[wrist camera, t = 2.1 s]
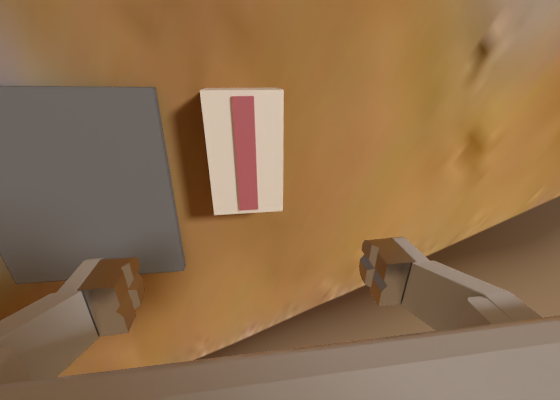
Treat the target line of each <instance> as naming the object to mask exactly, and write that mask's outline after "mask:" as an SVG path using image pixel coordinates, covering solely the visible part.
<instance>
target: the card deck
mask: <svg viewBox="0 0 560 400" xmlns="http://www.w3.org/2000/svg"><path fill="white" fill-rule="evenodd" d="M283 93H284V90H282V89H279V88H204V89H202V90H200V98H201V106H202V115H203V123H204V132H205V140H206V149H207V158H208V166H209V175H210V183H211V192H212V201H213V209H214V215H225V214H241V213H256V212H272V211H283Z"/></svg>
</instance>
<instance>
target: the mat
mask: <svg viewBox="0 0 560 400" xmlns="http://www.w3.org/2000/svg"><path fill="white" fill-rule="evenodd" d="M0 254H1V256H2V258H3V260H4V262H5V264H6V266H7V268H8V270H9V272H10V274H11V276H12V278H13V280H14V281H15V283H16V284H24V283H36V282H49V281H61V280H68V278H69V277H70V276H71V275H72V274H73V273H74V271H75V270H76V269H77V268H78V267H79V266H80V265H81V263H82V262H83V261H84V260H87V259H94V258H111V257H131V256H135V257H137V258H138V261H139V264H140V268H139V270H138V272H137V273H139V274H149V273H161V272H174V271H184V270H185V260H184V254H183V248H182V242H181V236H180V230H179V224H178V218H177V212H176V206H175V200H174V194H173V189H172V183H171V177H170V171H169V165H168V159H167V153H166V147H165V141H164V135H163V129H162V123H161V117H160V111H159V105H158V99H157V93H156V87H59V86H0Z"/></svg>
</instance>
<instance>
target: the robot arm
mask: <svg viewBox="0 0 560 400" xmlns="http://www.w3.org/2000/svg"><path fill="white" fill-rule="evenodd" d="M362 251H363V253H364V255H363V257H362V258H361V259H360V264H359V270H360V275H361V278H362V280H363V282H364V284H366V285H367V286H369V287H371V290H370V293H371V295H372V296H373V298H374V300H375V301H376V303H377V304H378V306H388V305H402V306H403V307H404V308H405V309H407V310H408V311H410V312H411V313H412V314H414V315H415V316H416V317H418V318H419V319H421V320H422V321H423V322H425V323H426V324H428V325H429V326H430V327H432V328H433V329H435V330H436V331H431V332H423V333H416V334H407V335H399V336H391V337H383V338H375V339H366V340H358V341H350V342H341V343H333V344H325V345H316V346H308V347H300V348H293V349H284V350H276V351H268V352H259V353H251V354H243V355H235V356H227V357H219V358H212V359H203V360H195V361H187V362H179V363H170V364H162V365H154V366H146V367H138V368H130V369H122V370H113V371H105V372H97V373H89V374H81V375H73V376H65V377H58V376H59V375H60V374H61V373H62V372H63V371H64V370H65V369H66V368H67V367H68V366H69V365H70V364H72V363H73V362H74V361H75V360H76V359H77V358H78V357H79V356H80V355H81V354H82V353H83V352H85V351H86V350H87V349H88V348H89V347H90V346H91V345H92V344H93V343H94V342H95V341H96V340H97V339H99V337H100V336H108V335H116V334H123V333H128V332H129V330H130V328H131V326H132V323H133V321H134V319H135V317H136V314H135V311H134V310H135V309H136V308H137V307H139V306H140V305H141V303H142V300H143V297H144V290H145V287H144V280H143V277H142V276H141V275H140V274H139V273H137V272H138V270H139V268H140V264H139V261H138V258H137V257H135V256H131V257H111V258H94V259H87V260H84V261H83V262H82V263H81V265H80V266H79V267H78V268H77V269H76V270H75V271H74V273H73V274H72V275H71V276H70V277H69V278H68V280H67V281H66V282H65V283H64V284H63V285H62V287H61V288H60V289H59V290H58V291H57V292H56V293H50V294H48V295H47V296H45V297H43V298H41V299H39V300H37V301H36V302H34V303H32V304H30V305H28V306H26V307H25V308H23V309H21V310H19V311H17V312H15V313H13V314H12V315H10V316H8V317H6V318H4V319H2V320H1V321H0V400H560V316H553V317H545V318H542V317H541V316H540V315H539V314H537V313H536V312H535V311H533V310H532V309H531V308H530V307H528V306H527V305H526V304H525V303H523V302H522V301H521V300H520V299H518V298H517V297H516V296H514V295H513V294H512V293H511V292H508V291H506V290H504V289H501V288H499V287H496V286H494V285H491V284H489V283H487V282H484V281H481V280H479V279H477V278H474V277H472V276H470V275H467V274H465V273H462V272H460V271H457V270H455V269H453V268H450V267H448V266H445V265H443V264H440V263H438V262H436V261H429V260H428V259H427V258H426V257H425V256H424V255H423V254H422V253H421V252H420V251H419V250H418V249H417V248H416V247H415V246H413V245H412V244H411V243H410V242H409V241H408V240H407V239H406V238H404V237H393V238H386V239H374V240H364V242H363V245H362Z"/></svg>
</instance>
